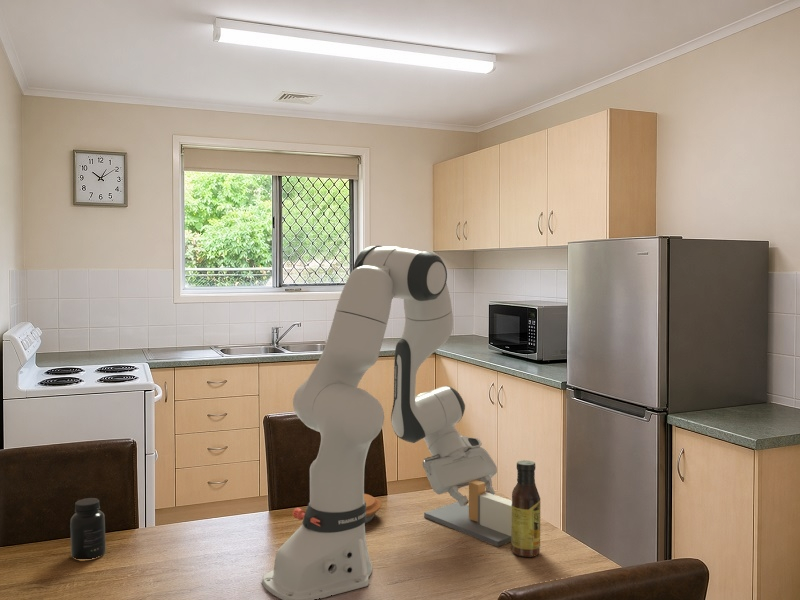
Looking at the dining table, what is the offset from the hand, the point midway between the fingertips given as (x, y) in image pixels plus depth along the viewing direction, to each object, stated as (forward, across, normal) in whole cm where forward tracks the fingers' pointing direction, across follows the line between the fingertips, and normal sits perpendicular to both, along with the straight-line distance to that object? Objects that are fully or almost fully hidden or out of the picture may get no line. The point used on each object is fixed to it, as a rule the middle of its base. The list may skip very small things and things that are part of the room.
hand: (478, 499), depth 165 cm
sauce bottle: (+17, -4, -7) cm, 19 cm away
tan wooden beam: (+3, 0, +4) cm, 5 cm away
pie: (-13, -20, +22) cm, 33 cm away
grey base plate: (+4, 0, +5) cm, 6 cm away
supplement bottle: (-27, -76, +36) cm, 88 cm away
